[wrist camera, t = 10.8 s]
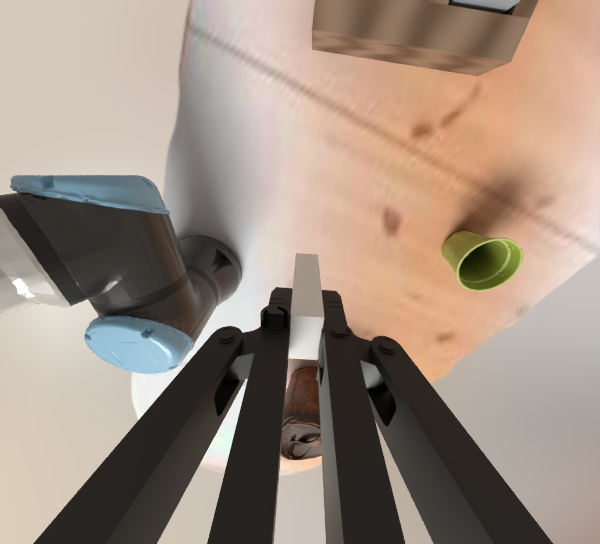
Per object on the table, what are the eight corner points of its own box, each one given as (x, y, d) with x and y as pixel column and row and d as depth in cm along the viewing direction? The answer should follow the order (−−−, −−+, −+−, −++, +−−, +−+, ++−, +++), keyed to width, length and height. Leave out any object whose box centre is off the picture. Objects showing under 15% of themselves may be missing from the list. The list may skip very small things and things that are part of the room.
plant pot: (435, 224, 41) (463, 242, 34) (491, 218, 40) (533, 235, 33) (428, 269, 46) (451, 293, 38) (479, 264, 45) (512, 288, 37)
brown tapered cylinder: (274, 396, 69) (264, 469, 54) (287, 352, 60) (280, 425, 44) (330, 405, 71) (336, 479, 55) (351, 364, 61) (366, 439, 45)
